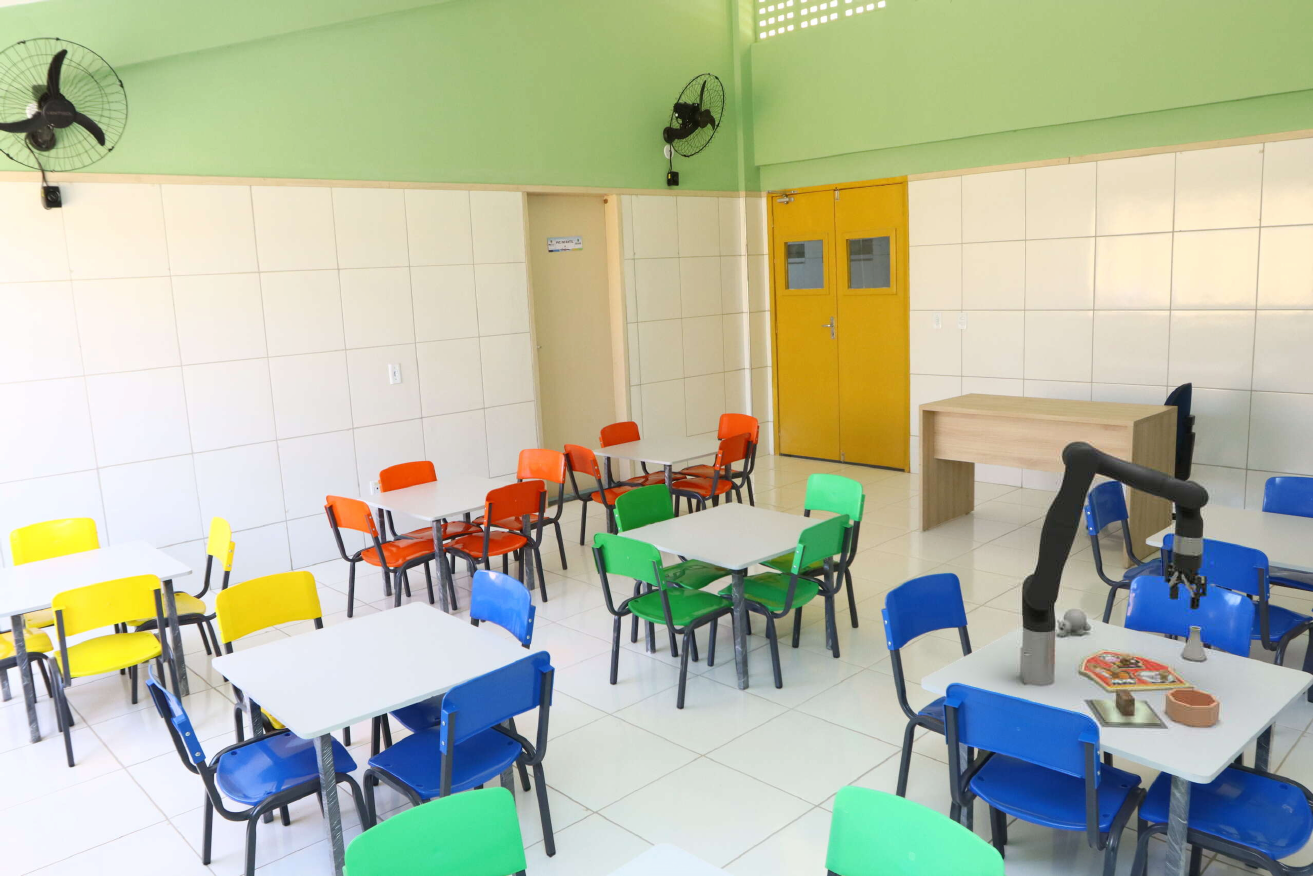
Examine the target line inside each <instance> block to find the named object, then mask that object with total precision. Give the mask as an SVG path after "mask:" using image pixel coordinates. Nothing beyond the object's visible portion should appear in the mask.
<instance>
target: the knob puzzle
mask: <svg viewBox="0 0 1313 876" xmlns="http://www.w3.org/2000/svg"><path fill="white" fill-rule="evenodd" d="M1175 670H1176V668H1175V666H1173V665H1170V664H1168V663H1166V662H1165V663H1164V662H1161V661H1158V660H1156V659H1152V658H1149V657H1147V656H1144V655H1138V654H1132V653H1128V652H1121V651H1114V650H1108V649H1101V650H1098V651H1096V652H1094V653H1091V654H1089V655H1086V656H1085V657H1084V658H1082V659H1081V661H1080V665H1079V669H1078V675H1080V676H1082V677H1086V678H1088V679H1089V680H1090V681H1092V682H1094V683H1095V684H1096V685H1097V686H1099V687H1100V688H1101V689H1103V691H1105V692H1106V693H1108V694H1116V689H1120V690H1128V691H1129V692H1130V693H1137V692H1138V693H1139V692H1154V691H1155V692H1158V691H1171V690H1173V689H1174V688H1183V689H1195V686H1194V685H1193V684H1191V682H1190V681H1188V680H1187V679H1185V678H1184V677H1183V676H1181V674H1179V672H1177V671H1175Z"/></svg>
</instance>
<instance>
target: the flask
mask: <svg viewBox="0 0 1313 876" xmlns="http://www.w3.org/2000/svg"><path fill="white" fill-rule="evenodd" d="M1189 629H1190V634H1189V637H1188V640H1187V642H1186V644H1185V646H1184V648H1183V649H1182V652H1181V653H1180V656H1181V657H1182V659H1185V660H1189V661H1191V662H1193V661H1194V662H1204V661H1206V660H1207V659H1208V658H1207V655H1206V653H1205V649H1204V647H1203V643H1202V640H1201V639H1202V638H1201V630H1202V628H1201V627H1200V626H1197V625H1196V626H1195V625H1190V626H1189Z"/></svg>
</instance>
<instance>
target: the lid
mask: <svg viewBox="0 0 1313 876" xmlns="http://www.w3.org/2000/svg"><path fill="white" fill-rule="evenodd" d="M1090 700H1091V703H1092V704H1093V706H1094V707H1095V709H1096V710H1097V712H1098V713H1099V715H1100V716H1101V718H1102V719H1103V721H1104V722H1105V724H1106V725H1143V726H1161V723H1160V721H1159V720H1158V719H1157V718H1156V716H1155V715H1154V714H1153V713H1152V711H1151V710H1150V709H1149V708H1148V706H1147V705H1146V704H1145V703H1144V701H1145V700H1138V699H1135V697H1134V696H1133V695H1132V692H1129V691H1128V690H1120V689H1116V693H1115V699H1090Z"/></svg>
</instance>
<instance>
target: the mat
mask: <svg viewBox="0 0 1313 876" xmlns="http://www.w3.org/2000/svg"><path fill="white" fill-rule="evenodd" d="M1083 701H1084V702H1085V704H1086V705H1087V707H1088V708H1089V710H1090V712H1091V713H1092V714H1093V716H1094V717H1095V719H1096V720H1097V722H1098V723H1099V725H1100V726H1101V728H1117V729H1119V728H1121V729H1122V728H1123V729H1124V728H1125V729H1126V728H1127V729H1159V730H1160V729H1162V730H1163V729H1164V730H1169V727H1168V726H1167V724H1166V723H1165V722H1164V721H1163V720H1162V718H1161V717H1160V716H1159V715H1158V713H1157V712H1156V710H1154V708H1153V707H1152V706H1151V705H1150V703H1148V701H1147V700H1143V701H1144V703H1145V704H1146V705H1147V706H1148V708H1149V709H1150V710H1151V711H1152V713H1153V714H1154V715H1155V716H1156V718H1157V719H1158V720H1159V721H1160V723H1161V726H1143V725H1106V724H1105V722H1104V721H1103V719H1102V718H1101V716H1100V715H1099V713H1098V712H1097V710H1096V709H1095V707H1094V706H1093V704H1092V703H1091V699H1083Z"/></svg>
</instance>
